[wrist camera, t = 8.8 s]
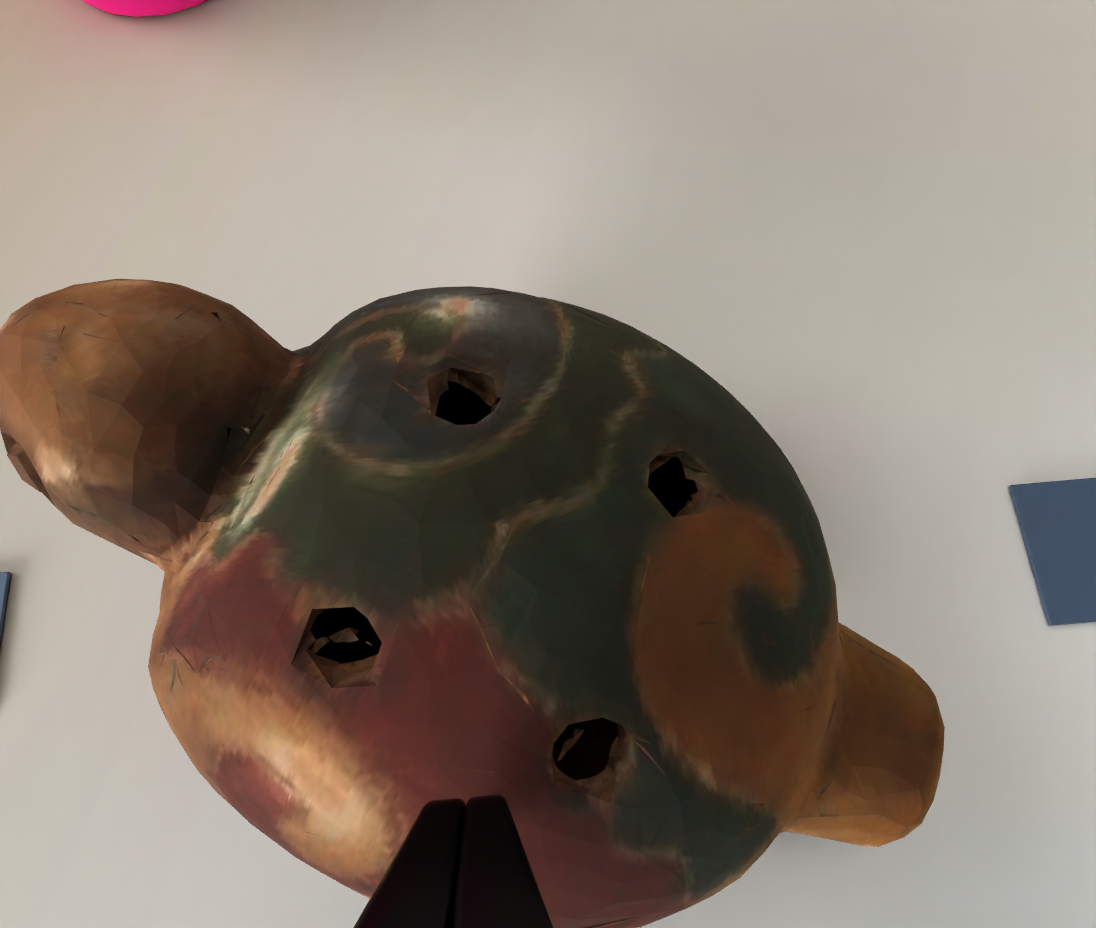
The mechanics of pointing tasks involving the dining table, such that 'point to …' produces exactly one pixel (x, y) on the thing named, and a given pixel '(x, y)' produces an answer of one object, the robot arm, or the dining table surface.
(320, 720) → the decorative turtle
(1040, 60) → the dining table surface
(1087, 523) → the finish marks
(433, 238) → the dining table surface
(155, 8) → the pepper mill
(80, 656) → the dining table surface
